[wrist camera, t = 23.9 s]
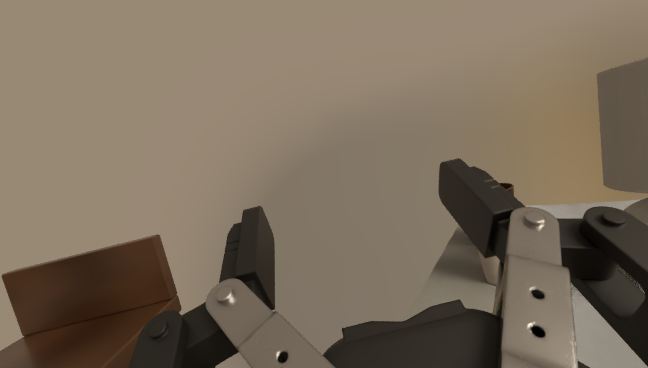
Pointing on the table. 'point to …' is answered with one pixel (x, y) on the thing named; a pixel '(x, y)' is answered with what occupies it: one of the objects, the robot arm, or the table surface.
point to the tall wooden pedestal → (88, 306)
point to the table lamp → (625, 131)
